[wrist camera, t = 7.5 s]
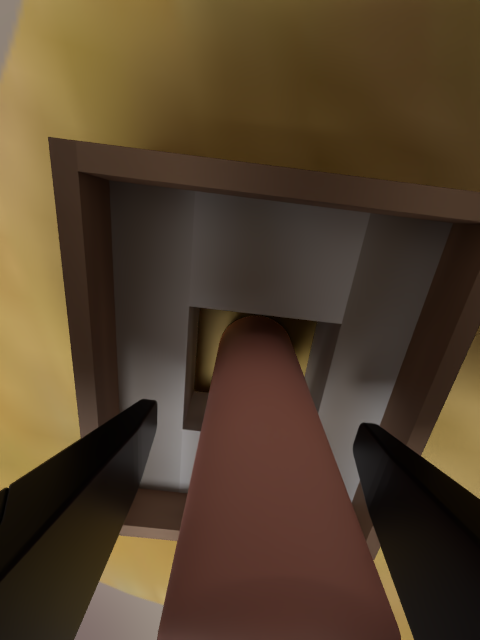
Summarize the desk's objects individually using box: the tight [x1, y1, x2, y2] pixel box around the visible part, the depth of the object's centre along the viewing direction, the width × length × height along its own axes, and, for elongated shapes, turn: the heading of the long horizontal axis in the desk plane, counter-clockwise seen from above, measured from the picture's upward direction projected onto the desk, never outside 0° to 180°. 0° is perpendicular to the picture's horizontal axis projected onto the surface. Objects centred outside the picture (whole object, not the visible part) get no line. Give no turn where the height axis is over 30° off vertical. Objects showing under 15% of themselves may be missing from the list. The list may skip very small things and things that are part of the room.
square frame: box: [48, 137, 480, 560], centre depth 10 cm, size 11×13×4 cm
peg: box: [157, 316, 401, 640], centre depth 8 cm, size 3×3×9 cm
